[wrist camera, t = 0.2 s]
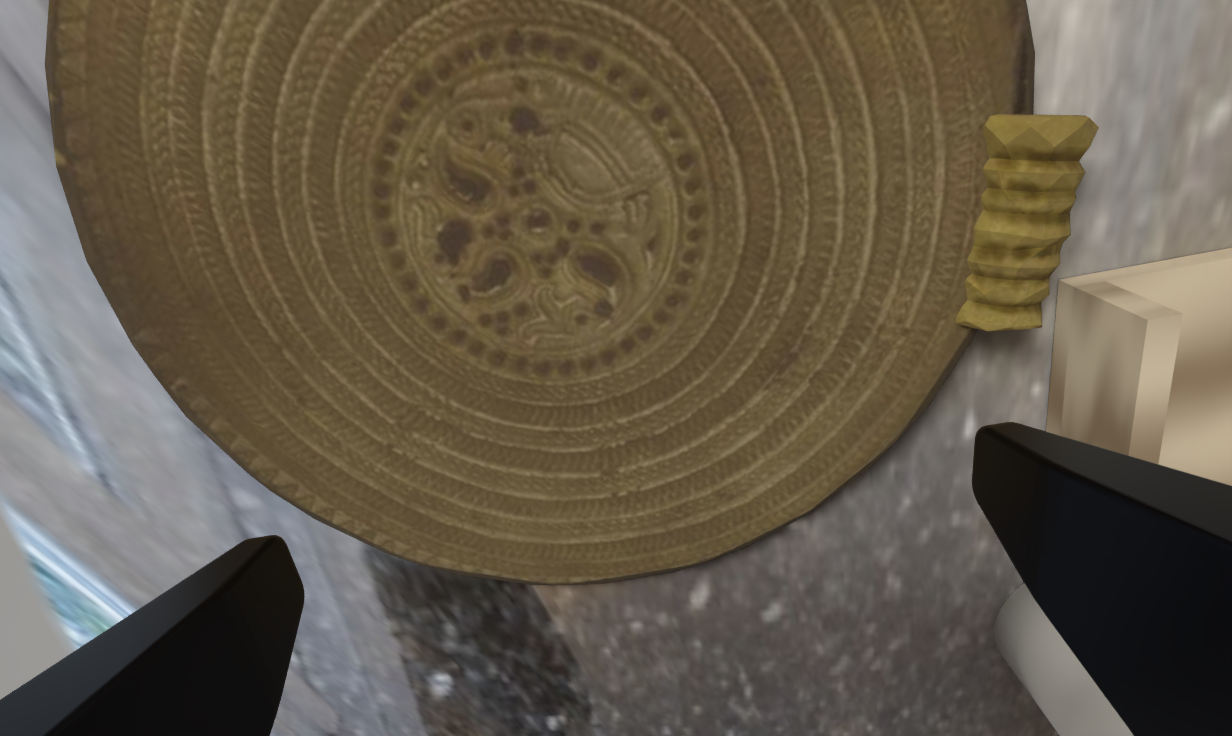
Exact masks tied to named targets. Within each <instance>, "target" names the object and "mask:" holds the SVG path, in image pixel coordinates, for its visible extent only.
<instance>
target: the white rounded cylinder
mask: <svg viewBox="0 0 1232 736" xmlns="http://www.w3.org/2000/svg"><path fill="white" fill-rule="evenodd" d="M994 640H995V644H996V647H997V649H998V651H999V652H1000V654H1001V655H1002V656H1003V658H1004V659H1005V661H1006V662H1007V663H1008V665H1009V666H1010V668H1011V669H1012V670H1013V672H1014V673H1015V674H1016V676H1017V677H1018V679H1019V680H1020V681H1021V683H1022V684H1023V686H1024V687H1025V688H1026V690H1027V691H1028V693H1029V694H1030V695H1031V697H1032V698H1033V699H1034V701H1035V702H1036V704H1037V705H1038V706H1039V708H1040V709H1041V711H1042V712H1043V713H1044V715H1045V716H1046V717H1047V719H1048V720H1049V722H1050V723H1051V724H1052V726H1053V727H1054V729H1055V730H1056V731H1057V733H1058V734H1059V735H1060V736H1134V735H1133V734H1132V732H1131V731H1130V730H1129V728H1128V727H1127V726H1126V724H1125V723H1124V722H1123V720H1122V719H1121V717H1120V716H1119V715H1118V713H1117V712H1116V711H1115V709H1114V708H1113V707H1112V705H1111V704H1110V702H1109V701H1108V700H1107V698H1106V697H1105V696H1104V694H1103V693H1102V692H1101V690H1100V689H1099V687H1098V686H1097V685H1096V683H1095V682H1094V681H1093V679H1092V678H1091V677H1090V675H1089V674H1088V672H1087V671H1086V670H1085V668H1084V667H1083V666H1082V664H1081V663H1080V662H1079V660H1078V659H1077V657H1076V656H1075V655H1074V653H1073V652H1072V651H1071V649H1070V648H1069V647H1068V645H1067V644H1066V642H1065V641H1064V640H1063V638H1062V637H1061V636H1060V634H1059V633H1058V632H1057V630H1056V629H1055V627H1054V626H1053V625H1052V623H1051V622H1050V621H1049V619H1048V618H1047V617H1046V615H1045V614H1044V612H1043V611H1042V609H1041V608H1040V607H1039V605H1038V604H1037V602H1036V601H1035V599H1034V598H1033V596H1032V595H1031V593H1030V591H1029V590H1028V588H1027V587H1026V585H1025V583H1024V584H1022V585H1021V586H1020V587H1019V588H1017V589H1016V590H1015V591H1014V592H1013V593H1012V594H1011V595H1010V597H1009V598H1008V599H1007V600H1006V601H1005V603H1004V604H1003V606H1002V608H1001V609H1000V611H999V613H998V615H997V618H996V621H995V625H994Z"/></svg>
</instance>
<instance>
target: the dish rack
mask: <svg viewBox="0 0 1232 736" xmlns="http://www.w3.org/2000/svg"><path fill="white" fill-rule="evenodd" d="M1046 432H1049V433H1053V434H1056V435H1060V436H1063V437H1066V438H1070V439H1073V440H1077V441H1080V442H1084V443H1087V444H1090V445H1094V446H1097V447H1101V448H1104V449H1107V450H1111V451H1114V452H1118V453H1121V454H1125V455H1128V456H1131V457H1135V458H1138V459H1142V460H1145V461H1149V462H1152V463H1155V464H1159V465H1162V466H1166V467H1169V468H1172V469H1176V470H1179V471H1183V472H1186V473H1190V474H1193V475H1196V476H1200V477H1203V478H1207V479H1210V480H1214V481H1217V482H1220V483H1224V484H1227V485H1231V486H1232V248H1228V249H1223V250H1217V251H1212V252H1206V253H1201V254H1196V255H1190V256H1185V257H1179V258H1174V259H1169V260H1163V261H1158V262H1152V263H1147V264H1142V265H1136V266H1131V267H1125V268H1120V269H1114V270H1109V271H1104V272H1098V273H1093V274H1087V275H1082V276H1077V277H1071V278H1066V279H1060V280H1059V283H1058V295H1057V307H1056V318H1055V330H1054V342H1053V354H1052V365H1051V377H1050V389H1049V401H1048V413H1047V424H1046Z"/></svg>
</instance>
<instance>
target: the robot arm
mask: <svg viewBox="0 0 1232 736" xmlns="http://www.w3.org/2000/svg"><path fill="white" fill-rule="evenodd" d="M972 487H973V492H974V495H975V498H976V500H977V502H978V504H979V506H980V507H981V509H982V511H983V513H984V514H985V516H986V518H987V519H988V521H989V523H990V525H991V526H992V528H993V530H994V532H995V533H996V535H997V537H998V538H999V540H1000V542H1001V544H1002V545H1003V547H1004V549H1005V551H1006V552H1007V554H1008V556H1009V557H1010V559H1011V561H1012V563H1013V564H1014V566H1015V568H1016V570H1017V571H1018V573H1019V575H1020V576H1021V578H1022V580H1023V582H1024V583H1025V585H1026V587H1027V588H1028V590H1029V591H1030V593H1031V595H1032V596H1033V598H1034V599H1035V601H1036V602H1037V604H1038V605H1039V607H1040V608H1041V609H1042V611H1043V612H1044V614H1045V615H1046V617H1047V618H1048V619H1049V621H1050V622H1051V623H1052V625H1053V626H1054V627H1055V629H1056V630H1057V632H1058V633H1059V634H1060V636H1061V637H1062V638H1063V640H1064V641H1065V642H1066V644H1067V645H1068V647H1069V648H1070V649H1071V651H1072V652H1073V653H1074V655H1075V656H1076V657H1077V659H1078V660H1079V662H1080V663H1081V664H1082V666H1083V667H1084V668H1085V670H1086V671H1087V672H1088V674H1089V675H1090V677H1091V678H1092V679H1093V681H1094V682H1095V683H1096V685H1097V686H1098V687H1099V689H1100V690H1101V692H1102V693H1103V694H1104V696H1105V697H1106V698H1107V700H1108V701H1109V702H1110V704H1111V705H1112V707H1113V708H1114V709H1115V711H1116V712H1117V713H1118V715H1119V716H1120V717H1121V719H1122V720H1123V722H1124V723H1125V724H1126V726H1127V727H1128V728H1129V730H1130V731H1131V732H1132V734H1133V735H1134V736H1232V486H1231V485H1227V484H1224V483H1220V482H1217V481H1214V480H1210V479H1207V478H1203V477H1200V476H1196V475H1193V474H1190V473H1186V472H1183V471H1179V470H1176V469H1172V468H1169V467H1166V466H1162V465H1159V464H1155V463H1152V462H1149V461H1145V460H1142V459H1138V458H1135V457H1131V456H1128V455H1125V454H1121V453H1118V452H1114V451H1111V450H1107V449H1104V448H1101V447H1097V446H1094V445H1090V444H1087V443H1084V442H1080V441H1077V440H1073V439H1070V438H1066V437H1063V436H1060V435H1056V434H1053V433H1049V432H1046V431H1042V430H1039V429H1036V428H1032V427H1029V426H1025V425H1022V424H1018V423H1014V422H1006V423H1000V424H993V425H987V426H983V427H981V428H980V429H979V430H978V431H977V433H976V436H975V444H974V459H973V473H972ZM303 605H304V588H303V584H302V581H301V578H300V576H299V574H298V571H297V569H296V566H295V564H294V561H293V559H292V556H291V554H290V552H289V549H288V547H287V545H286V543H285V541H284V540H283V539H282V538H281V537H279V536H277V535H270V536H264V537H257V538H251V539H247V540H244V541H243V542H241V543H239V544H238V545H236V546H235V547H233V548H232V549H230V550H229V551H227V552H226V553H224V554H223V555H221V556H220V557H218V558H216V559H215V560H213V561H212V562H210V563H209V564H207V565H206V566H204V567H203V568H201V569H200V570H198V571H197V572H195V573H194V574H192V575H190V576H189V577H187V578H186V579H184V580H183V581H181V582H180V583H178V584H177V585H175V586H174V587H172V588H171V589H169V590H168V591H166V592H164V593H163V594H161V595H160V596H158V597H157V598H155V599H154V600H152V601H151V602H149V603H148V604H146V605H145V606H143V607H142V608H140V609H138V610H137V611H135V612H134V613H132V614H131V615H129V616H128V617H126V618H125V619H123V620H122V621H120V622H119V623H117V624H115V625H114V626H112V627H111V628H109V629H108V630H106V631H105V632H103V633H102V634H100V635H99V636H97V637H96V638H94V639H93V640H91V641H89V642H88V643H86V644H85V645H83V646H82V647H80V648H79V649H77V650H76V651H74V652H73V653H71V654H70V655H68V656H67V657H65V658H64V659H62V660H60V661H59V662H58V663H56V664H54V665H53V666H51V667H50V668H48V669H47V670H45V671H44V672H42V673H41V674H39V675H37V676H36V677H34V678H33V679H32V680H30V681H29V682H27V683H25V684H24V685H22V686H21V687H19V688H18V689H16V690H14V691H13V692H12V693H10V694H8V695H7V696H5V697H4V698H2V699H1V700H0V736H270V733H271V730H272V727H273V723H274V720H275V717H276V714H277V711H278V707H279V704H280V700H281V696H282V692H283V688H284V684H285V680H286V676H287V672H288V667H289V663H290V659H291V655H292V651H293V647H294V643H295V638H296V634H297V630H298V626H299V622H300V618H301V614H302V609H303Z"/></svg>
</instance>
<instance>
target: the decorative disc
mask: <svg viewBox="0 0 1232 736" xmlns="http://www.w3.org/2000/svg"><path fill="white" fill-rule="evenodd" d="M1034 67H1035V51H1034V45H1033V39H1032V33H1031V27H1030V21H1029V15H1028V9H1027V3H1026V0H49V11H48V26H47V41H46V56H45V70H46V79H47V88H48V97H49V106H50V115H51V124H52V133H53V142H54V151H55V159H56V167H57V170H58V173H59V176H60V180H61V183H62V186H63V189H64V192H65V195H66V198H67V201H68V204H69V208H70V211H71V214H72V217H73V220H74V223H75V226H76V229H77V232H78V236H79V239H80V242H81V245H82V248H83V251H84V254H85V257H86V260H87V263H88V265H89V266H90V268H91V270H92V272H93V274H94V275H95V277H96V279H97V281H98V283H99V285H100V286H101V288H102V290H103V292H104V294H105V296H106V297H107V299H108V301H109V303H110V305H111V307H112V308H113V310H114V312H115V314H116V316H117V317H118V319H119V321H120V323H121V325H122V327H123V328H124V330H125V332H126V334H127V336H128V338H129V339H130V341H131V343H132V345H133V346H134V348H135V349H136V350H137V352H138V353H139V355H140V356H141V357H142V359H143V360H144V362H145V363H146V364H147V366H148V367H149V369H150V370H151V371H152V373H153V374H154V376H155V377H156V378H157V379H158V381H159V382H160V383H161V385H162V386H163V387H164V389H165V390H166V391H167V392H168V394H169V395H170V396H171V398H172V399H173V400H174V401H175V403H176V404H177V405H178V407H179V408H180V409H181V411H182V412H183V413H184V414H185V416H186V417H187V418H188V419H189V420H190V421H192V422H193V423H194V424H195V425H196V426H197V427H198V428H199V429H200V430H201V431H202V432H204V433H205V434H206V435H207V436H208V437H209V438H210V439H211V440H212V441H213V442H214V443H216V444H217V445H218V446H219V447H220V448H221V449H222V450H223V451H224V452H225V453H226V454H227V455H229V456H230V457H231V458H232V459H233V460H234V461H235V462H236V463H237V464H238V465H239V466H241V467H242V468H243V469H244V470H245V471H246V472H247V473H248V474H250V475H251V476H252V477H253V478H255V479H256V480H257V481H259V482H260V483H261V484H262V485H264V486H265V487H266V488H268V489H269V490H270V491H272V492H273V493H275V494H276V495H278V496H279V497H281V498H283V499H284V500H286V501H287V502H289V503H290V504H292V505H294V506H295V507H297V508H298V509H300V510H301V511H303V512H305V513H306V514H308V515H309V516H311V517H312V518H314V519H316V520H318V521H320V522H322V523H324V524H326V525H329V526H331V527H333V528H335V529H337V530H339V531H341V532H343V533H345V534H347V535H349V536H352V537H354V538H356V539H358V540H360V541H362V542H364V543H366V544H368V545H370V546H372V547H374V548H377V549H379V550H381V551H383V552H385V553H388V554H391V555H394V556H396V557H399V558H402V559H405V560H408V561H411V562H414V563H417V564H421V565H424V566H428V567H432V568H436V569H439V570H443V571H447V572H451V573H454V574H459V575H466V576H473V577H480V578H487V579H495V580H502V581H509V582H516V583H523V584H530V585H580V584H603V583H609V582H615V581H621V580H627V579H633V578H638V577H644V576H650V575H656V574H662V573H667V572H673V571H678V570H681V569H684V568H688V567H691V566H694V565H697V564H701V563H704V562H707V561H709V560H712V559H715V558H718V557H720V556H723V555H726V554H729V553H731V552H734V551H737V550H739V549H742V548H745V547H747V546H749V545H751V544H753V543H755V542H756V541H758V540H760V539H762V538H764V537H766V536H768V535H770V534H771V533H773V532H775V531H777V530H779V529H781V528H783V527H785V526H786V525H788V524H790V523H792V522H794V521H796V520H798V519H800V518H801V517H803V516H805V515H807V514H809V513H811V512H813V511H814V510H815V509H817V508H818V507H819V506H820V505H822V504H823V503H824V502H826V501H827V500H828V499H830V498H831V497H832V496H833V495H835V494H836V493H837V492H839V491H840V490H841V489H843V488H844V487H845V486H846V485H848V484H849V483H850V482H852V481H853V480H854V479H856V478H857V477H858V476H859V475H861V474H862V473H863V472H865V471H866V470H867V469H869V468H870V467H871V466H872V465H874V464H875V463H876V462H877V461H878V460H879V459H880V458H881V457H882V455H883V454H884V453H885V452H886V451H887V450H888V449H889V448H890V447H891V446H892V445H893V444H894V443H895V442H896V441H897V440H898V438H899V437H900V436H901V435H902V434H903V433H904V432H905V431H906V430H907V429H908V428H909V426H910V425H911V424H912V423H913V422H914V421H915V420H916V419H917V418H918V417H919V416H920V414H921V413H922V412H923V411H924V410H925V409H926V408H927V407H928V406H929V405H930V403H931V402H932V400H933V398H934V397H935V395H936V394H937V392H938V391H939V389H940V388H941V386H942V385H943V383H944V381H945V380H946V378H947V377H948V375H949V374H950V372H951V371H952V369H953V368H954V366H955V365H956V363H957V361H958V360H959V358H960V357H961V355H962V354H963V352H964V351H965V349H966V348H967V346H968V344H969V343H970V341H971V340H972V338H973V337H974V335H975V334H976V332H977V329H980V330H984V331H1003V330H1020V329H1032V328H1040V327H1042V309H1041V301H1042V300H1044V299H1045V298H1046V297H1047V296H1048V295H1049V277H1050V275H1051V274H1052V273H1053V272H1054V270H1055V269H1056V268H1057V267H1058V266H1059V264H1060V250H1061V246H1062V243H1063V242H1064V241H1065V240H1066V239H1067V238H1068V237H1069V236H1070V235H1071V234H1070V210H1071V208H1072V206H1073V204H1074V202H1075V200H1076V195H1075V190H1076V189H1077V187H1078V185H1079V183H1080V181H1081V180H1082V178H1083V176H1084V174H1085V171H1084V169H1083V167H1082V166H1081V164H1080V163H1079V160H1080V159H1081V157H1082V156H1083V155H1084V153H1085V152H1086V151H1087V150H1088V148H1089V147H1090V145H1091V143H1092V141H1093V139H1094V137H1095V134H1096V132H1097V130H1098V128H1099V127H1098V126H1097V125H1096V124H1095V123H1094V122H1093V121H1092V120H1091V119H1090V118H1089V117H1087V116H1079V115H1033V103H1034Z"/></svg>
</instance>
